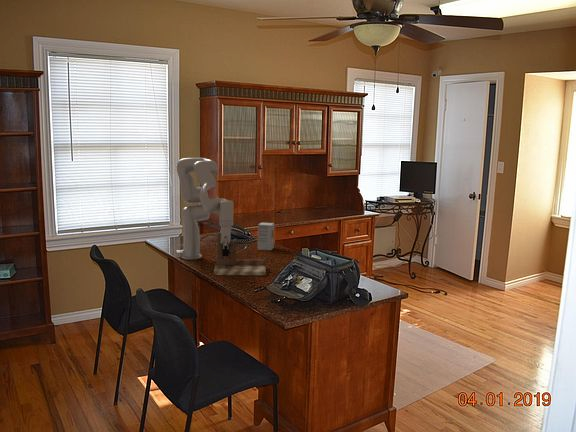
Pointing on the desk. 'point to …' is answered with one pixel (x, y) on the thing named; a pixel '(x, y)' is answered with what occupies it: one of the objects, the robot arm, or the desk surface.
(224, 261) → the wooden block
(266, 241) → the supplement box
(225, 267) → the marking board
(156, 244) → the desk surface
